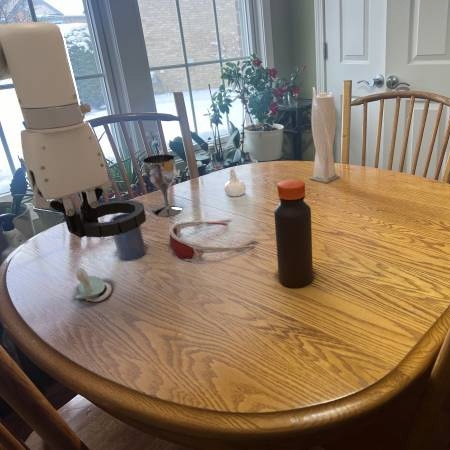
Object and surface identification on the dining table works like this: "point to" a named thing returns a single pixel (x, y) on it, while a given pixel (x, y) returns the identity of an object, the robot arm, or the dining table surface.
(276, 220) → the bottle
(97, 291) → the pacifier
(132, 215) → the ring
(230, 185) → the garlic bulb
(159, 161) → the wine glass
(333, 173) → the skyscraper
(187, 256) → the sunglasses
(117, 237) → the cup
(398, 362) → the dining table surface
